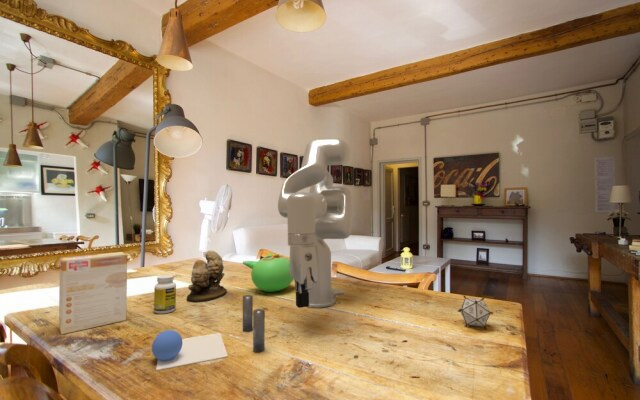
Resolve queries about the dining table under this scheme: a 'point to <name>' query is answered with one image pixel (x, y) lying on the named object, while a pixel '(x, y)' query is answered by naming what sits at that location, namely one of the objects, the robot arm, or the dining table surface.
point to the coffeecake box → (92, 291)
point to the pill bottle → (165, 294)
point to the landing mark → (196, 351)
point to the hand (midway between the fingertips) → (302, 306)
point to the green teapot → (270, 273)
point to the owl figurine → (207, 279)
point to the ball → (167, 345)
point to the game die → (475, 312)
